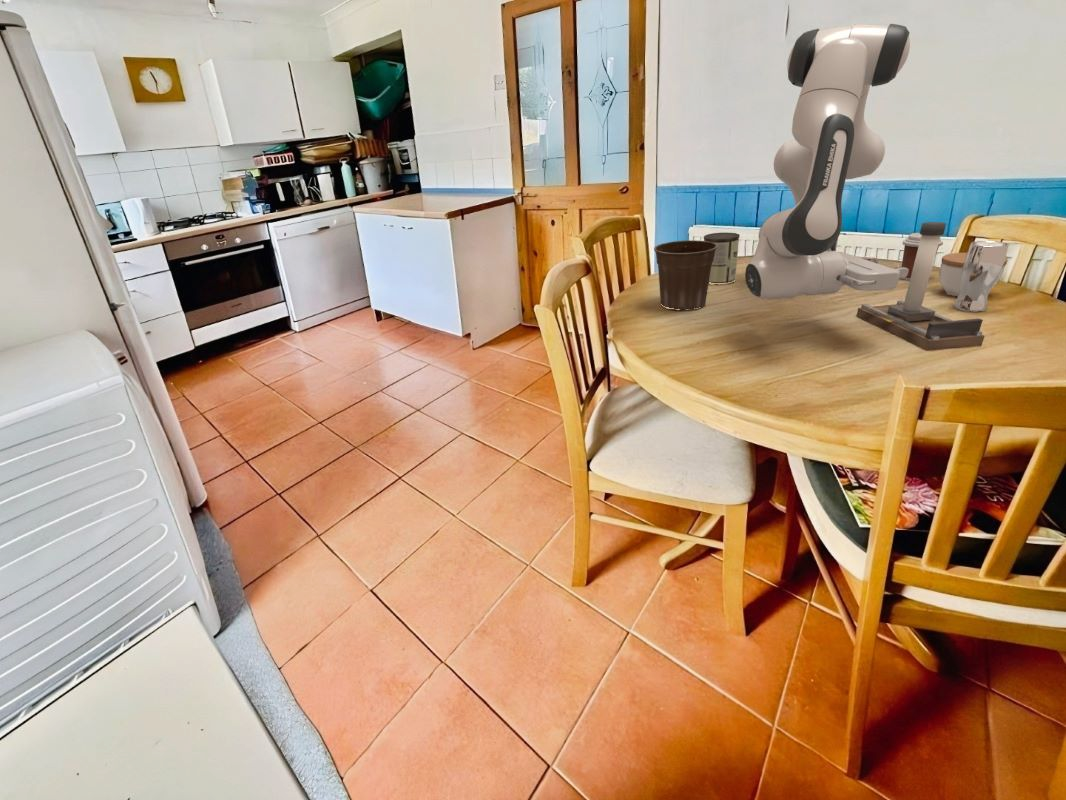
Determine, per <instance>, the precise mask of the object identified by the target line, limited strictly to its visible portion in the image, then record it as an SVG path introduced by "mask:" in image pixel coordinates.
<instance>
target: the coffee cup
mask: <svg viewBox="0 0 1066 800" xmlns="http://www.w3.org/2000/svg"><path fill="white" fill-rule="evenodd" d="M920 239H921V234H920V232H913V233H910V234H909V235H908V237H907V238H906V239H903V240H902V245H903V246H904V247H903V255H902V261H901V262H902V263H901V267H905V268H908V269H909V271H908V275H907V276H906V277H901V278H900V279H901V280H903V281H904V280H905V281H910V278H911V274H912V270H913V267H914V263H915V259H916V255H917V251H918V247H919V243H920ZM943 244H944V241H943V240H942V239H941V238H940V240H939V244H938V248H937V251H936V255H937V254H938V250H939V248H940V247H941V246H943ZM936 255H935V257H936Z"/></svg>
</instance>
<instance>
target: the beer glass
mask: <svg viewBox="0 0 1066 800" xmlns="http://www.w3.org/2000/svg"><path fill="white" fill-rule="evenodd" d="M1009 245H1010V244H1009V243H1008V242H1003V241H996V240H995V241H994V240H977V241H972V242H971V243H970V245H969V248H968V250H967V252H966V253H967V255H966V257H965V260H964V264H963V268H962V276H961V287H960V292H959V295H958V297H956V299H955V301H954V303H953V305H952V307H953V309H955V310H957V309H958V310H957V311H960V310H962V312H966V311H971V312H970V313H979V312H978V311H982V312H984V310H985V311H986V309H987V305H988V297H989V295H990V292H991V290H992V289H993V287H992V286H993V284H994V283H995V281H996V279H997V277H998V276H999V274H1000V272H1001V270H1002V267H1003V264H1004V261H1005V258H1006V257H1007V253H1008V248H1009Z"/></svg>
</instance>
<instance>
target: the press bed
mask: <svg viewBox="0 0 1066 800" xmlns="http://www.w3.org/2000/svg"><path fill="white" fill-rule="evenodd" d="M904 302H905V300H897V301H896V304H887V305H886V304H885V305H877V306H871V305H869V304H866V303H863V304H861V307H858V308H857V312H856V317H858V318H860V319H862V320H864V321H866V322H869V323H870V324H872V325H874V326H876V327H879V328H880V329H883V330H884V331H886V332H889V333H891V334H893V335H895V336H897V337H898V338H901V339H903V340H905V341H907V342H909V343H912V344H913V345H916V346H918V347H920V348H921V349H923V350H925V351H933V350H934V351H935V350H944V349H954V347H956V348H964V346H966V347H974V346H973V345H977V346H982V345H983V342H984V339H985V337H986V335H985V334H983V331H981V327H982V325H983V319H982V318H970V319H969V318H968V319H959V320H952V319H950V318H947V317H945V316H942V315H940V314H937V313H935V315H934V318H933V319H931V320H921V321H911V322H906V321H903V320H901V319H899V318H897V317H894V316H892V315H890V314H888V313H887V312H888V308H889V306H896V305H904Z"/></svg>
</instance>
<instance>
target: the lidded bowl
mask: <svg viewBox="0 0 1066 800" xmlns="http://www.w3.org/2000/svg"><path fill="white" fill-rule="evenodd" d="M966 255H967V252H954V253H949V254H948V253H947V254H945V255H942V257H941V264H940V268H939V272H938V273H939V274H938V281H939V283H940V286H941V288H943V290H944V291H945V293H946V294H947V295H949V296H951V295H952V297H956V296H957V297H958V295H959V292H960V287H961V276H962V268H963V264H964V260H965V257H966ZM1007 264H1008V258H1005V261H1004V264H1003V267H1002V270H1001V272H1000V274H999V276H998V277H997V279H996V281H995V283H994V284H993V286H992V288H994V287H995V286H996V284H997V283H998V282H999V280H1000V278H1001V276H1002V275H1003V272H1004V269H1005V267H1006V265H1007ZM957 297H956V298H957Z"/></svg>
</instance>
